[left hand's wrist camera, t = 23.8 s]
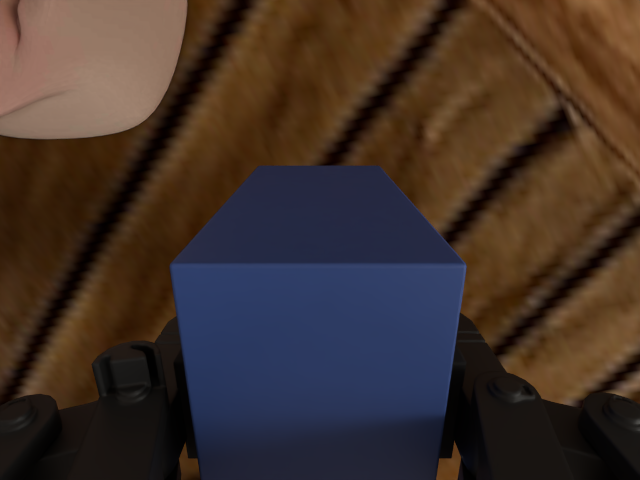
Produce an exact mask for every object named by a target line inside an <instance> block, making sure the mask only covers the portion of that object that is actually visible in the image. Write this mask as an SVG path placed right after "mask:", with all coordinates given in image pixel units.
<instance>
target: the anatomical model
mask: <svg viewBox="0 0 640 480" xmlns="http://www.w3.org/2000/svg"><path fill="white" fill-rule="evenodd" d="M186 16H187V0H0V135H4V136H10V137H17V138H31V139H69V138H85V137H94V136H103V135H108V134H113V133H118V132H121V131H125V130H128V129H130V128H133V127H135V126H137V125H139V124H140V123H142V122H143V121H144V120H146V119H147V118H148V117H149V116H150V115H151V114H152V113H153V112H154V111H155V109H156V108H157V106H158V105H159V103H160V102H161V100H162V98H163V96H164V94H165V93H166V91H167V89H168V87H169V84H170V81H171V79H172V76H173V74H174V71H175V67H176V64H177V60H178V57H179V53H180V49H181V45H182V40H183V36H184V30H185V23H186Z"/></svg>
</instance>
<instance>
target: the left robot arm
mask: <svg viewBox="0 0 640 480" xmlns="http://www.w3.org/2000/svg"><path fill="white" fill-rule="evenodd" d="M92 368H93V372H94V376H95V380H96V384H97V388H98V392H99V396H100V397H99V399H98V401H95V402H91V403H88V404H84V405H79V406H75V407H70V408H66V409H61V410H58V407H57V403H56V401H55V400H54V399H53V398H52V397H51V396H49V395H43V394H35V395H27V396H23V397H20V398H17V399H14V400H11V401H9V402H7V403H5V404H3V405H1V406H0V480H181V469H180V463H179V457H180V454H181V452H182V449H183V446H184V444H185V441H186V447H187V453H188V458H198V457H197V450H196V444H195V437H194V430H193V423H192V416H191V410H190V403H189V396H188V389H187V382H186V376H185V369H184V362H183V355H182V348H181V341H180V335H179V328H178V321H177V316H176V317H175V318H173V319H172V320H170V321H169V322H168V323H167V325H166V326H165V328H164V329H163V331H162V332H161V335H159V337H158V338H157V340H156V341H155V343H152V342H148V341H131V342H127V343H122V344H119V345H117V346H114V347H112V348H110V349H108V350H106V351H105V352H103V353H102V354H100V355H99V356H98V357H97V358H96V359H95V361H94V362H93V363H92ZM454 440H455V443H456V445H457V448H458V450H459V453H460V455H461V463H460V469H459V475H458V480H640V404H638V403H636V402H634V401H633V400H631V399H628V398H625V397H622V396H619V395H616V394H611V393H603V392H599V393H593V394H590V395H588V396H587V397H586V398H585V399H584V402H583V406H582V409H581V408H577V407H572V406H568V405H564V404H559V403H555V402H551V401H547V400H544V399H541V396H540V395H539V393H538V392H537V390H536V389H535V388H534V387H533V386H532V385H531V384H529V383H528V382H527V381H526V380H524V379H522V378H520V377H518V376H516V375H514V374H510V373H507V372H506V371H505V369H504V368H503V366H502V365H501V363H500V362H499V360H498V359H497V357H496V356H495V354H494V353H493V352H492V350H491V349H490V347H489V346H488V344H487V343H485V340H484V338H483V337H482V335H481V334H479V331H478V329H477V328H476V327H475V325H474V324H473V322H472V321H471V320H470V319H468V318H467V317H466V316H464V315H463V314H461V313H460V315H459V322H458V329H457V336H456V343H455V350H454V357H453V364H452V371H451V378H450V385H449V392H448V399H447V406H446V413H445V420H444V427H443V434H442V441H441V448H440V455H439V458H452V452H453V445H454Z"/></svg>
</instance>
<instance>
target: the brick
mask: <svg viewBox="0 0 640 480" xmlns="http://www.w3.org/2000/svg"><path fill="white" fill-rule="evenodd" d="M170 273H171V280H172V287H173V294H174V301H175V307H176V314H177V321H178V328H179V335H180V341H181V348H182V355H183V362H184V369H185V376H186V382H187V389H188V396H189V403H190V410H191V416H192V423H193V430H194V437H195V444H196V450H197V457H198V464H199V471H200V478H201V480H436V476H437V469H438V462H439V455H440V448H441V441H442V434H443V427H444V420H445V413H446V406H447V399H448V392H449V385H450V378H451V371H452V364H453V357H454V350H455V343H456V336H457V329H458V322H459V315H460V309H461V302H462V295H463V288H464V281H465V274H466V263H465V262H464V261H463V260H462V259H461V258H460V257H459V256H458V254H457V253H456V252H455V251H454V250H453V249H452V248H451V247H450V245H449V244H448V243H447V242H446V241H445V240H444V239H443V237H442V236H441V235H440V234H439V233H438V232H437V231H436V230H435V228H434V227H433V226H432V225H431V224H430V223H429V222H428V221H427V219H426V218H425V217H424V216H423V215H422V214H421V213H420V211H419V210H418V209H417V208H416V207H415V206H414V205H413V204H412V202H411V201H410V200H409V199H408V198H407V197H406V196H405V194H404V193H403V192H402V191H401V190H400V189H399V188H398V187H397V185H396V184H395V183H394V182H393V181H392V180H391V179H390V178H389V176H388V175H387V174H386V173H385V172H384V171H383V170H382V168H381V167H380V166H258V167H257V168H256V169H255V170H254V172H253V173H252V174H251V175H250V176H249V177H248V178H247V179H246V180H245V182H244V183H243V184H242V185H241V186H240V187H239V188H238V189H237V190H236V192H235V193H234V194H233V195H232V196H231V197H230V198H229V199H228V200H227V202H226V203H225V204H224V205H223V206H222V207H221V208H220V209H219V210H218V211H217V213H216V214H215V215H214V216H213V217H212V218H211V219H210V220H209V221H208V223H207V224H206V225H205V226H204V227H203V228H202V229H201V230H200V231H199V233H198V234H197V235H196V236H195V237H194V238H193V239H192V240H191V241H190V243H189V244H188V245H187V246H186V247H185V248H184V249H183V250H182V251H181V253H180V254H179V255H178V256H177V257H176V258H175V259H174V260H173V261H172V263H171V264H170Z"/></svg>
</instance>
